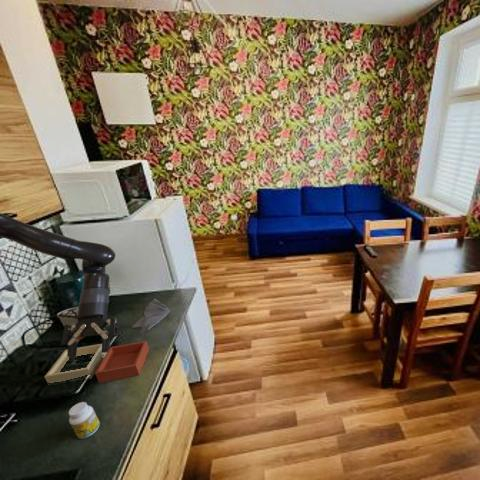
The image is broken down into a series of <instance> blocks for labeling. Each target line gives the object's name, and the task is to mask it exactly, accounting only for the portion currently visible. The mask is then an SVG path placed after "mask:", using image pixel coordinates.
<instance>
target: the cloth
mask: <svg viewBox="0 0 480 480" xmlns="http://www.w3.org/2000/svg"><path fill="white" fill-rule="evenodd" d="M170 312H171V309H170V308H169V307H168V306H167V305H165V304H164V303H162V302H161V301H159V300H158V299H156V298H155V297H154V298H153V299H152V300H151V301H149V302H148V303H147V304H145V306H144V311H143V316H142V317H141V318H140V319H138V320H137V321H136V322H135V323H134V325H133V326H132V327H131V328H132V329H137V328H141V330H140V331H139V333H140V334H142V333H146V332H147V331H150V330H151V329H152V328H153V327H155V326H157V324H159V323H160V322H161V321H162V320H163V319H165V318H166V317H167V316H168V315H169V313H170Z"/></svg>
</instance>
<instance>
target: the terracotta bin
mask: <svg viewBox="0 0 480 480" xmlns="http://www.w3.org/2000/svg"><path fill="white" fill-rule="evenodd" d="M149 351H150V347H149V344H148V342H147V340H143V341H138V342H131V343H127V344H120V345H115V346H110V348H109V350H108V351H107V353H106V355H105V357H104V359H103V360H102V362H101V364H100V365H99V367H98V369H97V371H96V372H95V374H94V375H95V376H96V379H97V382H98V383H99V384H101V383H107V382H112V381H117V380H121V379H126V378H132V377H136V376H140V374H141V372H142V369H143V366H144V364H145V361H146V359H147V357H148V354H149Z"/></svg>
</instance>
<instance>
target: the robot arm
mask: <svg viewBox="0 0 480 480" xmlns="http://www.w3.org/2000/svg"><path fill="white" fill-rule="evenodd" d="M0 238H3V239H6V240H8V241H11V242H14V243H16V244H19V245H21V246H24V247H26V248H27V249H30V250H33V251H36V252H38V253H42V254H44V255H48V256H51V257H55V258H58V259H63V260H67V261H71V260H82V261H81V270H82V276H83V280H82V288H81V293H80V295H79V304H78V307H79V310H78V322H77V324H75V325H68V324H67V325H65V327H64V326H63V332H62V336H61V342H60V344H61V345H64V346H65V345H66V346H68V347H67V350H68V353H67V356H68V357H69V358H75V357H76V352H77V348H78V344H79V342H81V340H83V339H84V338H85V337H90V336H94V335H99V336H100V337H101V338H102V340H101V344H102V350H101V352H102V353H105V352H108V350H109V349H110V347H111V340H112V339H114V338H115V337H118V335H119V319H118V318H117V317H110V318H108V312H109V302H110V291H109V289H110V275H109V274H108V273H106V268H107V267H106V266H108V265H110V264H111V263H112V262H113V261H114V260H115V258H116V252H115V251H114V249H113V248H111V247H109V246H107V245H105V244H103V243H102V244H101V243H97V242H90V241H83V240H78V239H75V238H71V237H68V236H65V235H63V234H59V233H56V232H53V231H50V230H46V229H43V228H41V227H38V226H34V225H31V224H28V223H26V222H23V221H20V220H18V219H15V218H13V217H10V216H8V215H6V214H3V213H1V212H0ZM107 325H108V326H109V332H108V330H107V329H106V326H107ZM75 328H76V329H77V330H78V331H77V332H76V333H73V331H74V330H75Z"/></svg>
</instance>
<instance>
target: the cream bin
mask: <svg viewBox="0 0 480 480" xmlns="http://www.w3.org/2000/svg"><path fill="white" fill-rule="evenodd" d="M101 350H102V343H98V344H92V345H86V346H80V347H79V346H78V347H77V352H76V357H77V356H81V355H87V354H94V353H95V354H94V356H93V357H92V359H91V361H90V362H89V364H88V365H87V367H86V368H81V369H76V370H70V371H65V372H60V371H61V369H62V368H63V367H64V365H65V364H66V362H67V361H68V360H69V357H68V356H67V353H68V349H65V350H64V351H63V352H62V353H61V355H60V356H59V357H58V358H57V360H56V361H55V362H54V364H53V365H52V366H51V368H50V369H49V370H48V372H46V374H45V375H44V379H45V381H46V383H47V384H48V383H54V382H61V381H66V380H70V379H74V378H78V377H82V376H85V375H90V378H89V379H88V380H91V379H93V378H94V376H95V375H96V374H95V373H96V371H97V369H98V368H99V366H100V364H101V362H102V361H103V359H104V357H105V355H106V354H107V352H108V351H107V352H106V353H102V352H101ZM103 355H104V356H103ZM102 356H103V357H102Z"/></svg>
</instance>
